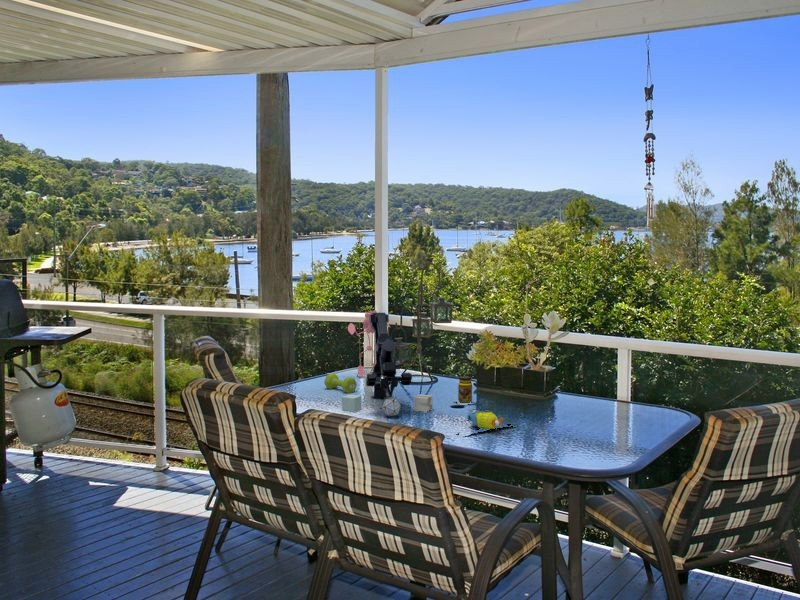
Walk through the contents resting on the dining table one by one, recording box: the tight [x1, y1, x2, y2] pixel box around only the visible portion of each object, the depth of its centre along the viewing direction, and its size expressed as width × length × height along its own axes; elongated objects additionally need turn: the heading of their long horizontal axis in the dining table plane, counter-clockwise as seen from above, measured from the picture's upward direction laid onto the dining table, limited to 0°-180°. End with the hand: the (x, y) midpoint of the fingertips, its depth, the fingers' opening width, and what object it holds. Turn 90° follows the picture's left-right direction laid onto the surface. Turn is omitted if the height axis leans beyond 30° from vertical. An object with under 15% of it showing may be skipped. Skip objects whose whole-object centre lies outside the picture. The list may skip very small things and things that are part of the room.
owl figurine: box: [466, 408, 505, 430], centre depth 290 cm, size 28×9×15 cm
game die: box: [379, 395, 404, 419], centre depth 310 cm, size 9×8×10 cm
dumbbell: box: [323, 373, 358, 394], centre depth 358 cm, size 16×8×7 cm, turn 46°
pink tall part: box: [347, 309, 391, 378], centre depth 389 cm, size 15×26×35 cm, turn 134°
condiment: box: [457, 375, 473, 403], centre depth 334 cm, size 7×8×12 cm
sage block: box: [341, 393, 362, 413], centre depth 320 cm, size 6×6×6 cm
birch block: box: [413, 394, 433, 413], centre depth 321 cm, size 6×6×6 cm
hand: (390, 396), depth 309 cm, fingers closed
